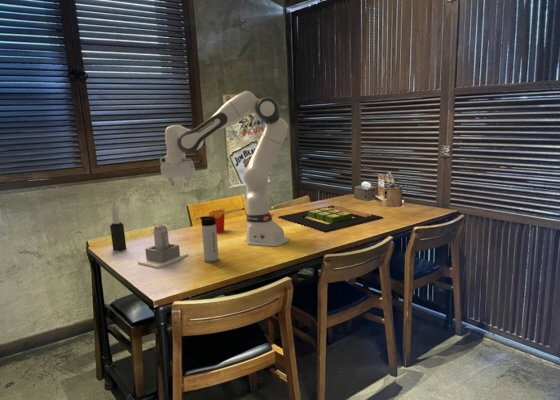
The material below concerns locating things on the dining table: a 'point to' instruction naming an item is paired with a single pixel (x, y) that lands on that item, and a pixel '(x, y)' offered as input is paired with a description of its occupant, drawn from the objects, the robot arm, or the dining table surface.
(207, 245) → the travel mug
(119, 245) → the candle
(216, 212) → the french fries
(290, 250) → the dining table surface
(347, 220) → the sushi set
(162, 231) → the energy drink can
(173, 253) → the housing
